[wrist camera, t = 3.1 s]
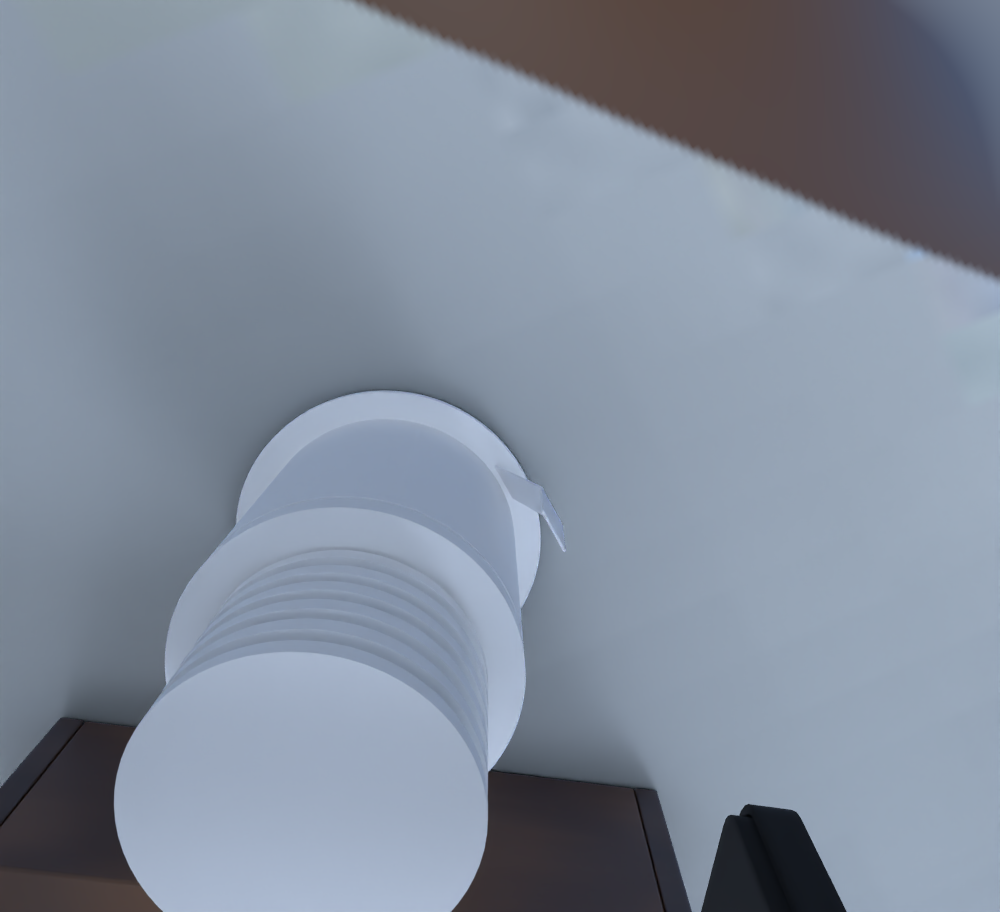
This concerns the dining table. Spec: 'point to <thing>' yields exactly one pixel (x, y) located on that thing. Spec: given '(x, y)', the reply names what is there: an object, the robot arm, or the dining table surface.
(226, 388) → the dining table surface
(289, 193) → the dining table surface
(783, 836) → the robot arm
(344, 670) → the downlight
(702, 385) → the dining table surface
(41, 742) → the spice shelf
